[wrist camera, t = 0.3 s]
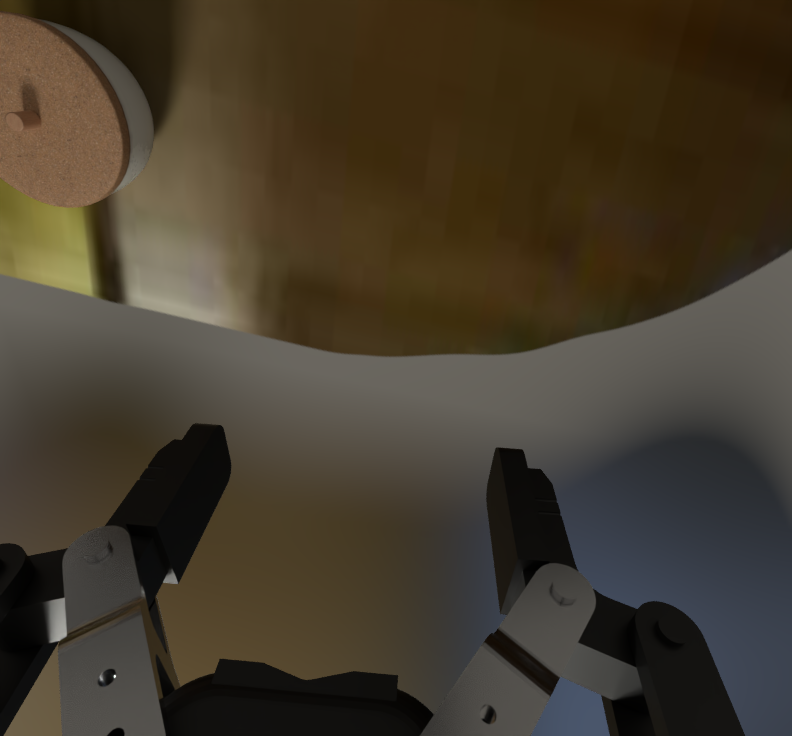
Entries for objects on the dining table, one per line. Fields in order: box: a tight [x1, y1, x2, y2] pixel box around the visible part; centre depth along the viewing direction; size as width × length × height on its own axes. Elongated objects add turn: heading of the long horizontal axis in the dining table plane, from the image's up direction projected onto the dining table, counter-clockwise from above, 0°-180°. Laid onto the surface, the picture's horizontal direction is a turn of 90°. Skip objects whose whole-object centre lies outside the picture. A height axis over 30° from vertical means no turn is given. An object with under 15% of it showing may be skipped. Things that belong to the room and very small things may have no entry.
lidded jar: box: [0, 11, 154, 207], centre depth 31 cm, size 11×11×9 cm
